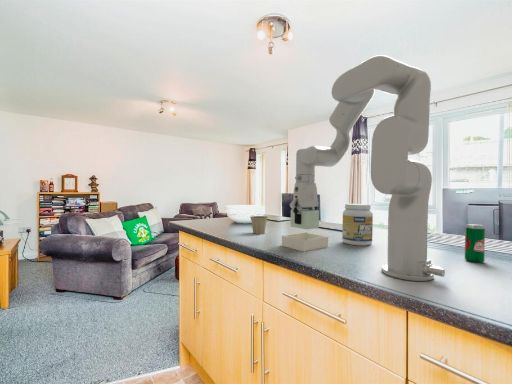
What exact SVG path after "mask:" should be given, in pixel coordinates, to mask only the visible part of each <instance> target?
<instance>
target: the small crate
mask: <svg viewBox="0 0 512 384" xmlns="http://www.w3.org/2000/svg"><path fill="white" fill-rule="evenodd" d="M300 214H301V224H295V214H294V213H293V211H292V209H290V228H295V229H296V228H297V229H301V230H313V229H314V230H315V229H319V228H320V210H317V209H316V210H308V208H302V210H301V213H300Z"/></svg>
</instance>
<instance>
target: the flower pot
mask: <svg viewBox="0 0 512 384" xmlns="http://www.w3.org/2000/svg"><path fill="white" fill-rule="evenodd" d="M249 218H250V221H251V227H252V234H254V235H255V234H256V235H263V234H266V229H267V222H268V218H269V217H268V216H265V215H264V216H263V215H254V216H253V215H252V216H249Z"/></svg>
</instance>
